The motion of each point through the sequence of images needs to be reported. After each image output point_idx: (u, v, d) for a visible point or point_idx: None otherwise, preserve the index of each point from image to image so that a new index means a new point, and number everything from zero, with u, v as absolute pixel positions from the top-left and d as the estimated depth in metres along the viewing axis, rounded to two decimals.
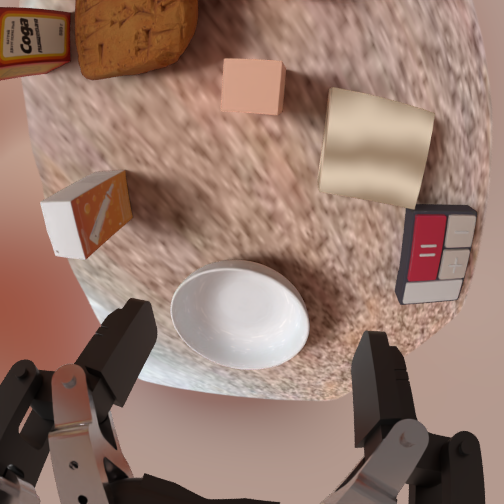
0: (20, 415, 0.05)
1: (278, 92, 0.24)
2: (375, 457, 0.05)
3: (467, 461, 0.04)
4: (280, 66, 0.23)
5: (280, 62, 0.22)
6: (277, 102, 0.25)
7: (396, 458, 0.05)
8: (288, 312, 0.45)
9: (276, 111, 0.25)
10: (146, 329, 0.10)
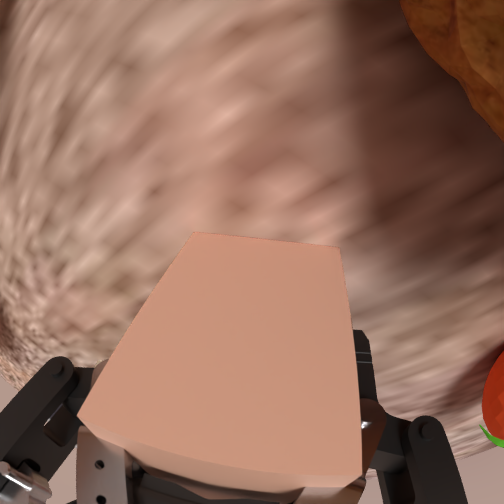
0: (48, 412, 0.06)
1: (209, 497, 0.07)
2: None
3: (432, 446, 0.05)
4: None
5: None
6: None
7: None
8: None
9: None
10: None
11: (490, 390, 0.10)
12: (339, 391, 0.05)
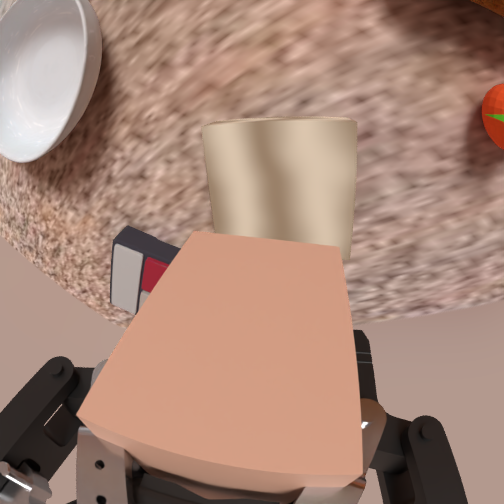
0: (48, 412, 0.06)
1: (208, 497, 0.07)
2: None
3: (432, 446, 0.05)
4: None
5: None
6: None
7: None
8: (51, 125, 0.25)
9: None
10: None
11: (484, 110, 0.17)
12: (340, 390, 0.05)
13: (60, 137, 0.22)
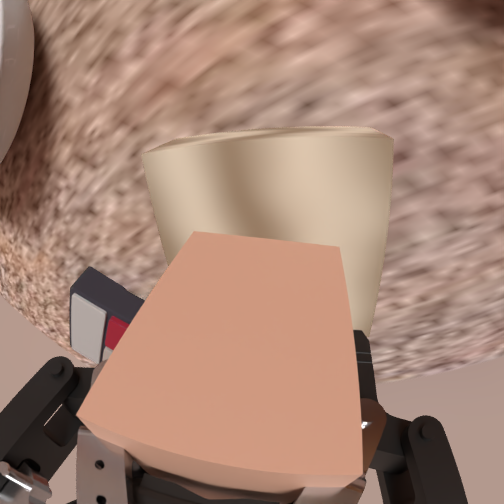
0: (48, 412, 0.06)
1: (208, 497, 0.07)
2: None
3: (432, 446, 0.05)
4: None
5: None
6: None
7: None
8: None
9: None
10: None
11: None
12: (339, 390, 0.05)
13: None
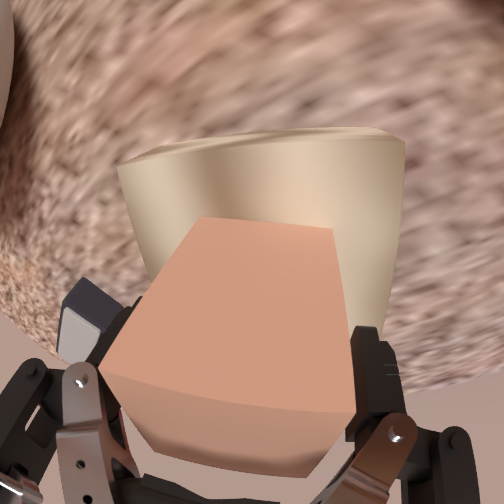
0: (27, 413, 0.05)
1: None
2: (364, 452, 0.05)
3: (458, 456, 0.04)
4: (290, 476, 0.08)
5: (302, 477, 0.08)
6: (186, 459, 0.08)
7: (386, 452, 0.05)
8: None
9: (162, 453, 0.08)
10: None
11: None
12: (332, 341, 0.06)
13: None
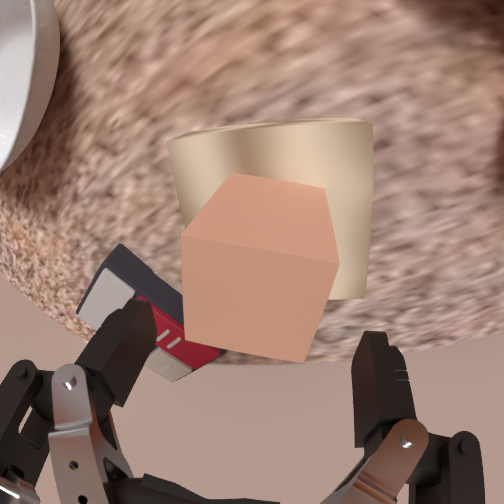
0: (20, 415, 0.05)
1: (233, 348, 0.13)
2: (375, 457, 0.05)
3: (467, 461, 0.04)
4: (291, 359, 0.12)
5: (300, 361, 0.12)
6: (211, 344, 0.13)
7: (396, 458, 0.05)
8: (12, 136, 0.20)
9: (192, 340, 0.13)
10: (146, 329, 0.10)
11: None
12: (324, 234, 0.11)
13: (13, 152, 0.16)
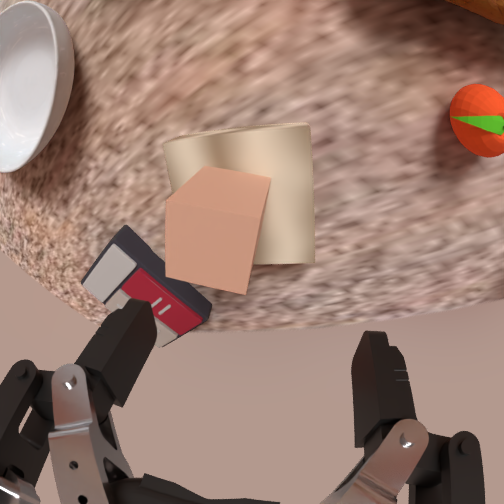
0: (20, 415, 0.05)
1: (198, 282, 0.19)
2: (375, 457, 0.05)
3: (467, 461, 0.04)
4: (237, 291, 0.19)
5: (243, 293, 0.19)
6: (183, 279, 0.19)
7: (396, 458, 0.05)
8: (31, 136, 0.26)
9: (170, 276, 0.19)
10: (146, 329, 0.10)
11: (451, 112, 0.19)
12: (256, 204, 0.18)
13: (37, 149, 0.22)
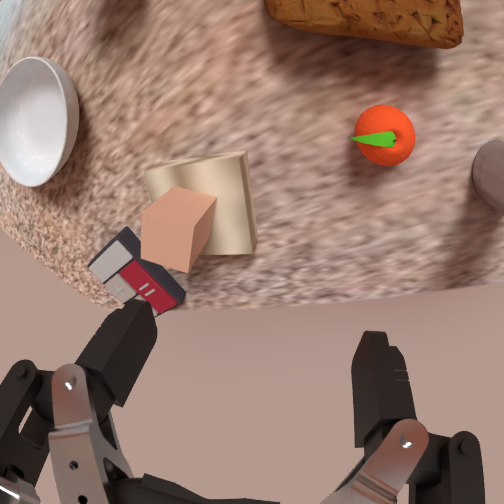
0: (20, 415, 0.05)
1: (159, 263, 0.29)
2: (375, 457, 0.05)
3: (467, 461, 0.04)
4: (183, 271, 0.29)
5: (186, 272, 0.29)
6: (151, 261, 0.29)
7: (396, 458, 0.05)
8: (48, 158, 0.37)
9: (143, 258, 0.29)
10: (146, 329, 0.10)
11: None
12: (196, 217, 0.28)
13: (55, 172, 0.33)
